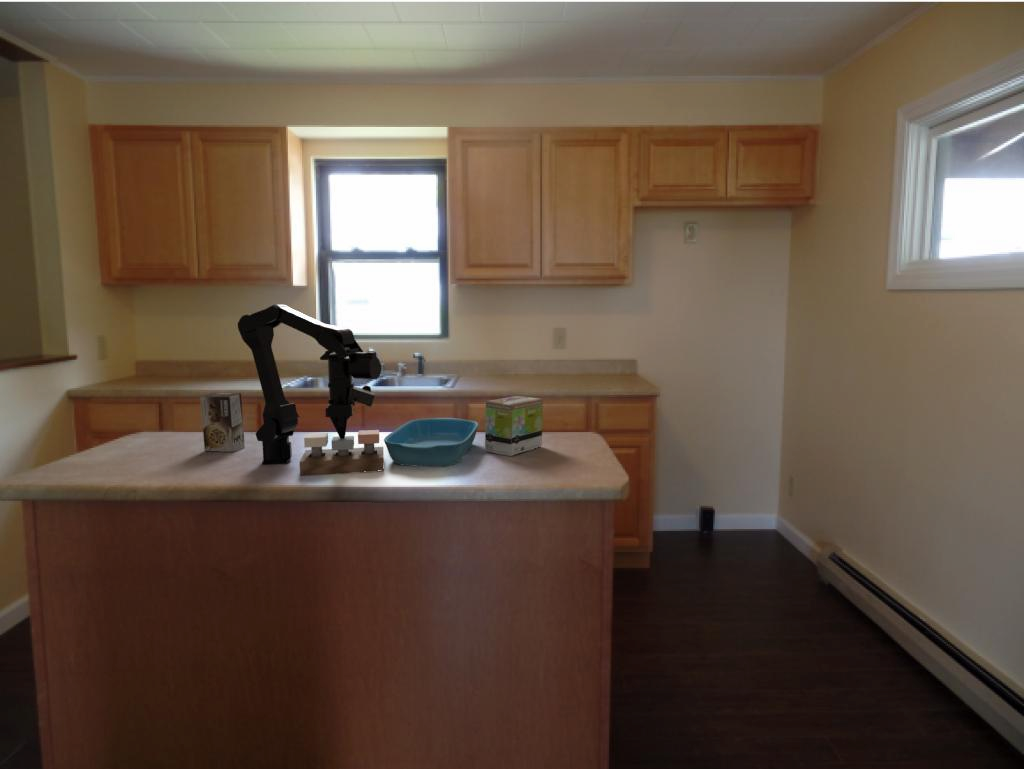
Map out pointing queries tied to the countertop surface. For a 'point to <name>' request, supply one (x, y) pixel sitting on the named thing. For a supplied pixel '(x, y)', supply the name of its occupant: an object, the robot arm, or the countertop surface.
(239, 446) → the coffee box
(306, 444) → the cream key
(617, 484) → the countertop surface
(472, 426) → the casserole dish
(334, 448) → the slate key
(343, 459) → the key block
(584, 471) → the countertop surface
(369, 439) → the terracotta key
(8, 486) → the countertop surface
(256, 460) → the countertop surface
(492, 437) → the tea box
